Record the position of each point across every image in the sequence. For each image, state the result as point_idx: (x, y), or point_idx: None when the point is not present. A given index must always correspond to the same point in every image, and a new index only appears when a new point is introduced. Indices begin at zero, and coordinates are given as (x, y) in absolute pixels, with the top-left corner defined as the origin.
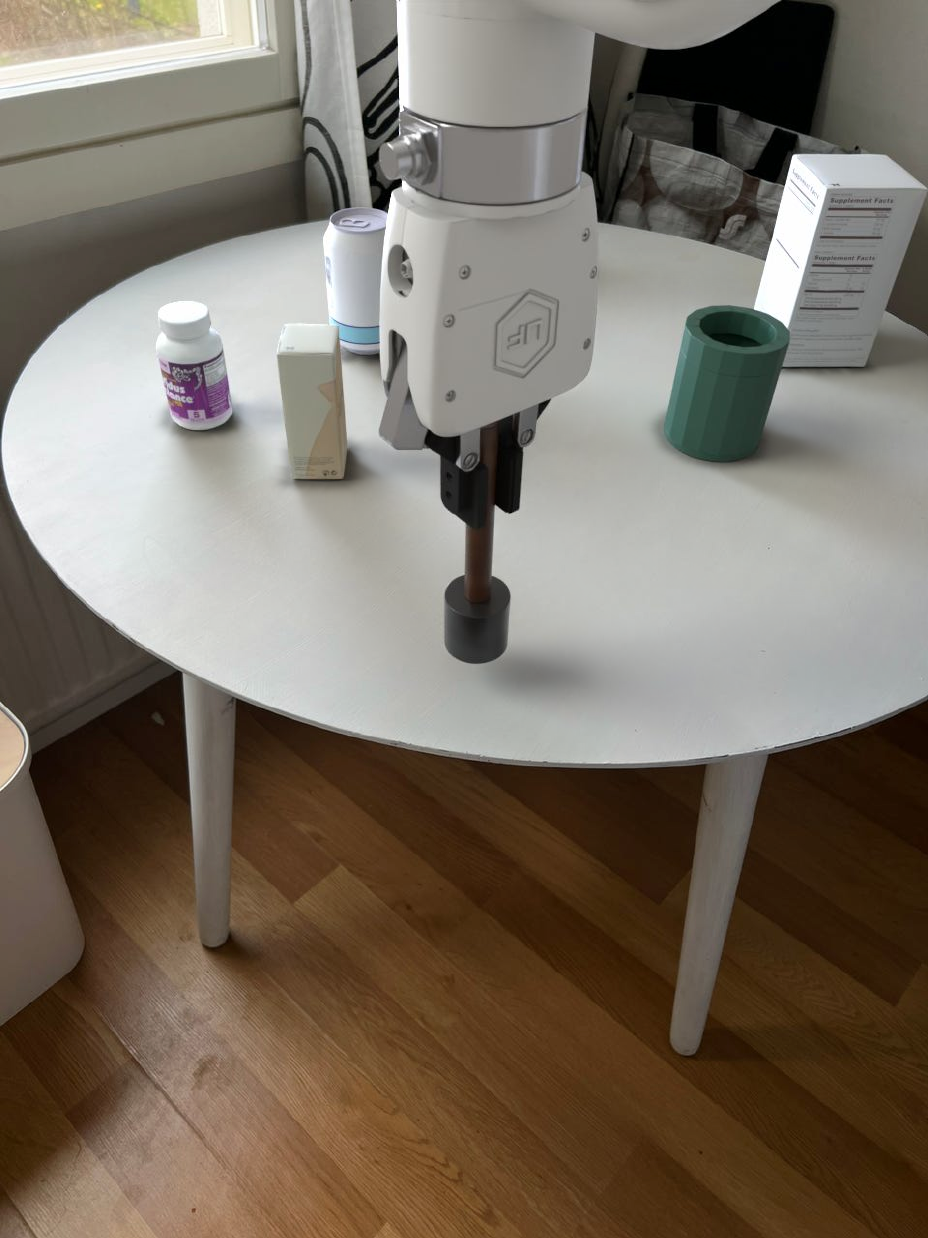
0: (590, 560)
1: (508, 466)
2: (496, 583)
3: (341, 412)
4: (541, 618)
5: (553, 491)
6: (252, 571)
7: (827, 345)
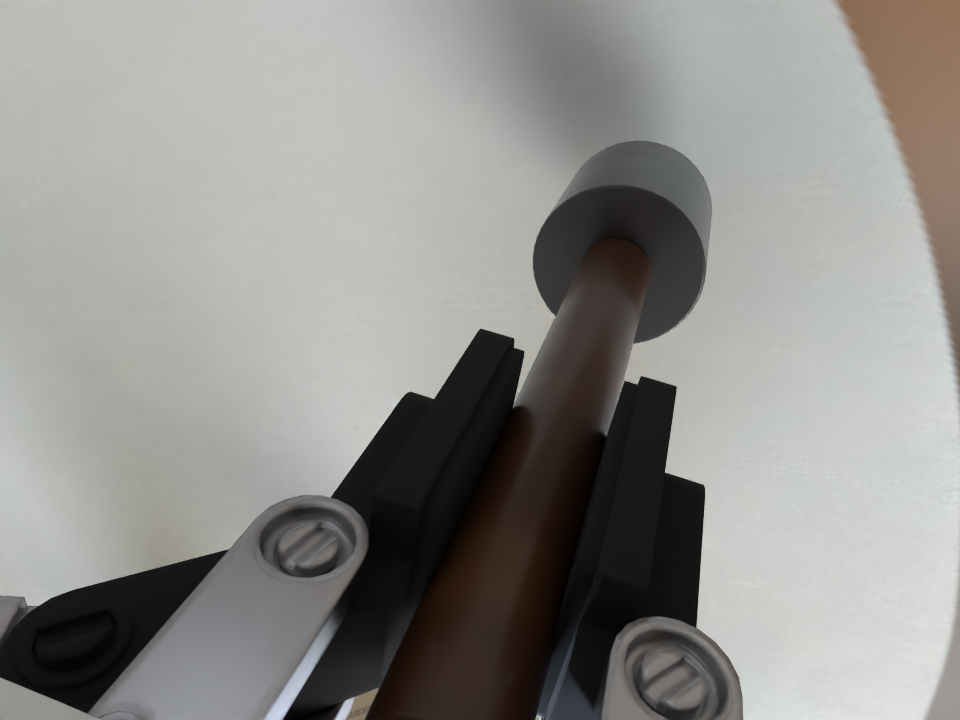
0: (257, 187)
1: (456, 486)
2: (550, 256)
3: (367, 703)
4: (441, 166)
5: (192, 341)
6: (697, 611)
7: None
